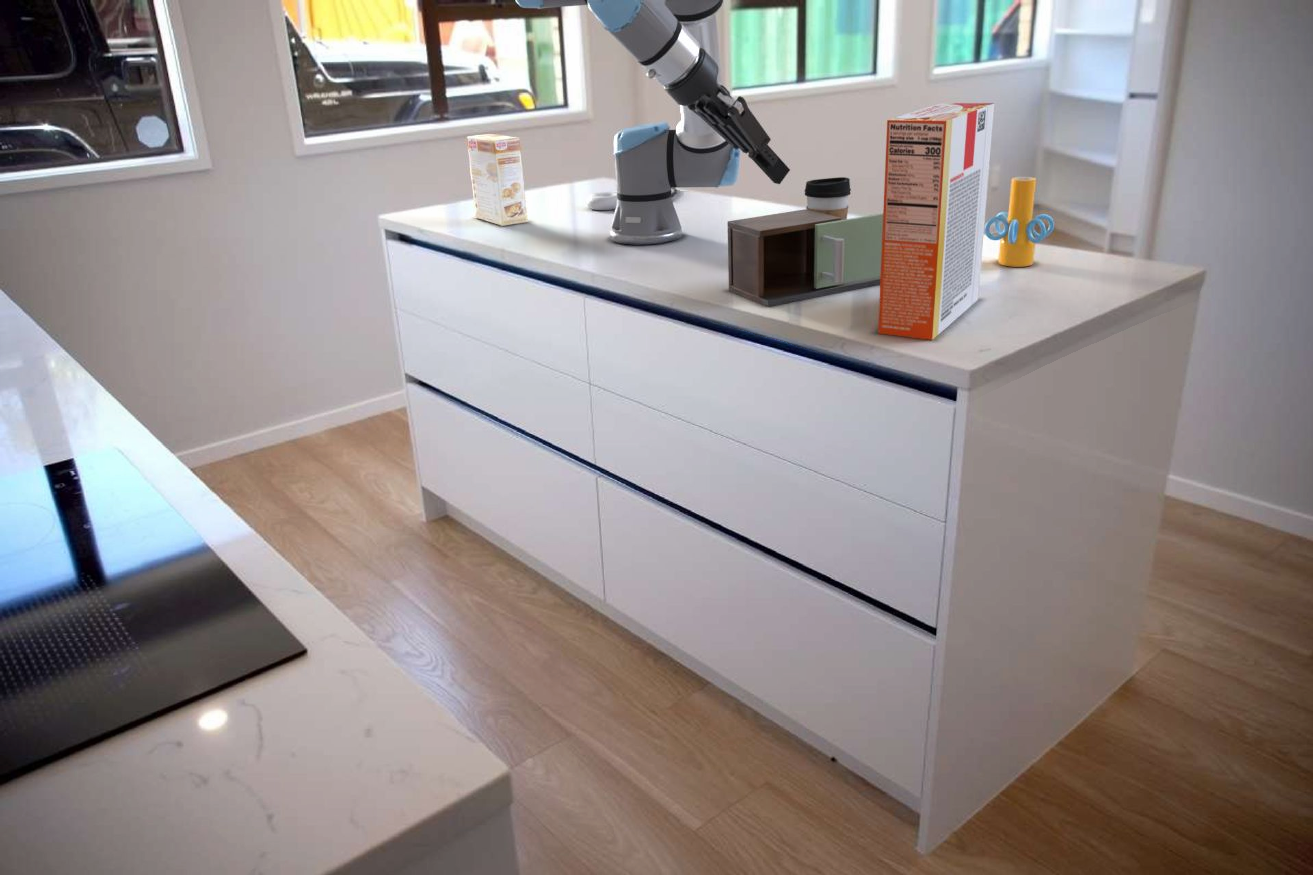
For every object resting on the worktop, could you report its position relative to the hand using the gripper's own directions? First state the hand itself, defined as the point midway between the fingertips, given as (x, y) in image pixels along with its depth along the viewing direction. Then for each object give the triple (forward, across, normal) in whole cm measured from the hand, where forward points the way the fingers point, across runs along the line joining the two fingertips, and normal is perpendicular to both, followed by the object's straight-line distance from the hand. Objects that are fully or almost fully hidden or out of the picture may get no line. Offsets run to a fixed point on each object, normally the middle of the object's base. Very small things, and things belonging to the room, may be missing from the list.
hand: (782, 176), depth 150 cm
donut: (+28, -102, -3) cm, 106 cm away
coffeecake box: (+9, -105, -22) cm, 108 cm away
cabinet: (+25, -10, -6) cm, 27 cm away
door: (+27, -2, -2) cm, 27 cm away
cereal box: (+27, +15, -3) cm, 31 cm away
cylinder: (+51, 0, +21) cm, 55 cm away
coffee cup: (+34, -24, +3) cm, 41 cm away
